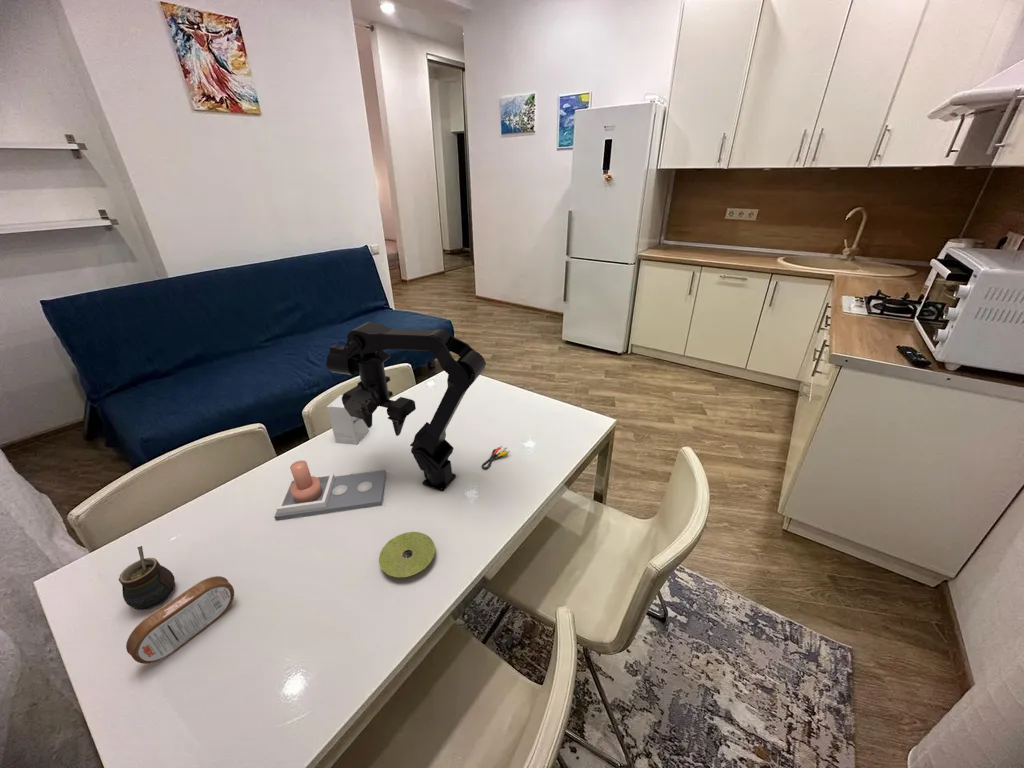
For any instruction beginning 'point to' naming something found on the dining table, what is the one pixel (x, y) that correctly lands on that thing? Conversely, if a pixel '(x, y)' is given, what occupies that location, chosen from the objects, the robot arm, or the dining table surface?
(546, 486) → the dining table surface
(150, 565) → the mate gourd
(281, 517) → the station board
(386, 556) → the green disc
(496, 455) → the composite cable
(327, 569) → the dining table surface
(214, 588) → the tin
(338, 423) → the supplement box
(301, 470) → the pink flanged peg
